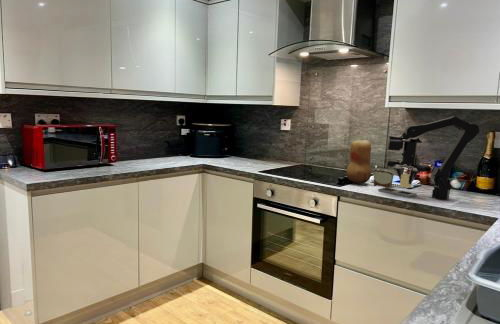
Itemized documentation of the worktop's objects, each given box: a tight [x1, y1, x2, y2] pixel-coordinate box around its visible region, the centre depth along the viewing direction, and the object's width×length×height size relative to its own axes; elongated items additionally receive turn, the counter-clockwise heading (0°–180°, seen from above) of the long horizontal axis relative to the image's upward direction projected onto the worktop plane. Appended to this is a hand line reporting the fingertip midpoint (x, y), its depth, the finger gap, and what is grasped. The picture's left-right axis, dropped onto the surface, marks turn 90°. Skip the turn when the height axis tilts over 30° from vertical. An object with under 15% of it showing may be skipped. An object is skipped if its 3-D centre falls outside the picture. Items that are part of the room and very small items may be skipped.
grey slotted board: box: [377, 187, 418, 199], centre depth 185 cm, size 16×8×2 cm, turn 44°
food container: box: [372, 167, 396, 188], centre depth 204 cm, size 12×6×10 cm, turn 41°
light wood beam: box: [399, 173, 413, 189], centre depth 182 cm, size 4×4×6 cm
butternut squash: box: [345, 139, 372, 185], centre depth 210 cm, size 14×13×25 cm
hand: (406, 183), depth 182 cm, fingers closed on light wood beam, 4 cm apart
